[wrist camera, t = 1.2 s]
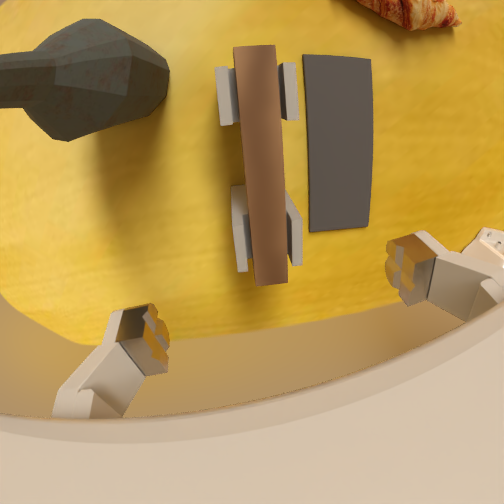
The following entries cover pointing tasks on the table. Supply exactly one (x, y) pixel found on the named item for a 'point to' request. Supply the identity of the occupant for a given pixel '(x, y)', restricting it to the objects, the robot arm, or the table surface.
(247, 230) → the post
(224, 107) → the post
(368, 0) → the croissant
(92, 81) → the bottle
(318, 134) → the mat
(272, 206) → the rail
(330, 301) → the table surface
